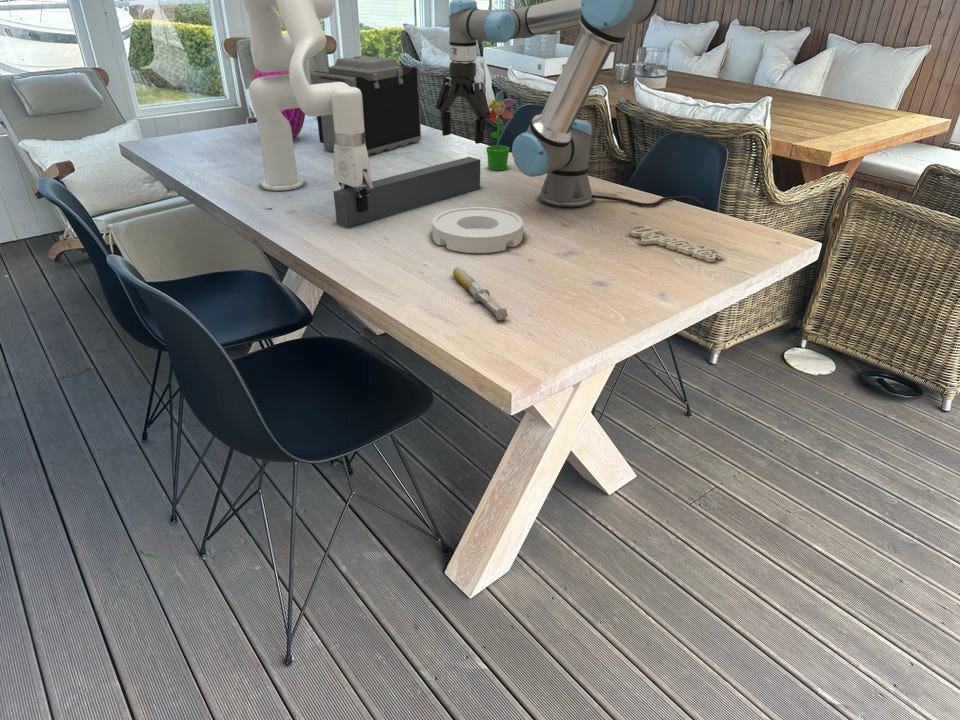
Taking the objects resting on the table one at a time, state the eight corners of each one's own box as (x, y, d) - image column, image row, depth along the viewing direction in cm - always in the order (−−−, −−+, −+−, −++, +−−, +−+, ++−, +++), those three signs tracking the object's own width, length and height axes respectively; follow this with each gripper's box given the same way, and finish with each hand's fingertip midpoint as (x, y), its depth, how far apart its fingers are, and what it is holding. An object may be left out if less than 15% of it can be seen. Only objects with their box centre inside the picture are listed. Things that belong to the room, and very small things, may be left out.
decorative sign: (617, 232, 177) (640, 223, 183) (616, 235, 177) (640, 227, 183) (706, 262, 160) (729, 252, 166) (705, 266, 160) (728, 255, 166)
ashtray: (436, 220, 186) (436, 206, 184) (521, 222, 186) (522, 207, 184) (428, 252, 166) (427, 236, 164) (523, 254, 166) (524, 238, 164)
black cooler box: (383, 133, 276) (378, 52, 261) (425, 141, 265) (422, 56, 250) (314, 150, 251) (304, 61, 235) (358, 160, 240) (350, 67, 224)
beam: (468, 184, 216) (468, 156, 212) (480, 188, 213) (480, 159, 209) (336, 223, 184) (333, 191, 179) (347, 227, 181) (344, 195, 176)
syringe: (449, 274, 155) (449, 263, 153) (465, 272, 156) (464, 260, 154) (490, 323, 135) (491, 310, 133) (508, 319, 136) (508, 307, 134)
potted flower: (491, 172, 228) (493, 92, 215) (480, 166, 234) (481, 88, 221) (516, 168, 232) (519, 90, 219) (504, 163, 238) (506, 86, 225)
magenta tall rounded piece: (293, 132, 276) (283, 50, 261) (319, 140, 264) (310, 56, 249) (249, 139, 265) (236, 54, 250) (273, 148, 253) (261, 60, 238)
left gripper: (318, 136, 177) (325, 205, 186) (359, 147, 167) (365, 219, 176) (341, 131, 182) (347, 199, 191) (383, 142, 172) (387, 212, 181)
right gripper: (422, 58, 198) (424, 133, 209) (486, 67, 183) (484, 148, 194) (441, 55, 202) (442, 129, 213) (504, 65, 188) (502, 144, 199)
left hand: (356, 208), depth 184 cm, fingers closed on beam, 5 cm apart
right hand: (462, 138), depth 204 cm, fingers open, 13 cm apart
